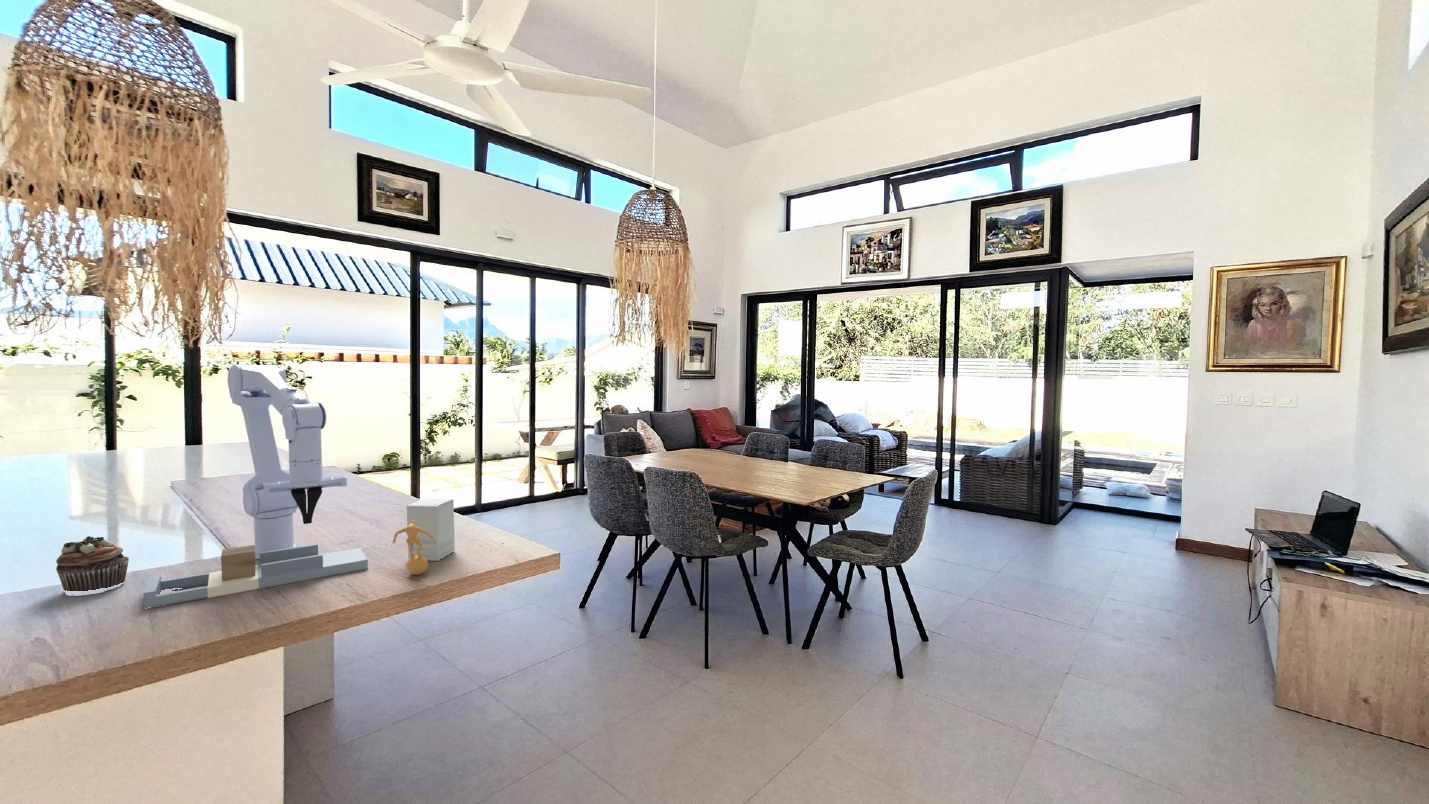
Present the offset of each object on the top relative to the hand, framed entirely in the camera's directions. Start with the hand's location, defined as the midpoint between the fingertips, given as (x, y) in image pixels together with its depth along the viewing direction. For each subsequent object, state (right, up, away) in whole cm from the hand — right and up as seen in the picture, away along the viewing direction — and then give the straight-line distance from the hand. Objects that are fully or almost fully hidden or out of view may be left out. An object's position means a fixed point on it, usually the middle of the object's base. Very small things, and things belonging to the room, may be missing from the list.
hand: (307, 522), depth 125 cm
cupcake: (-33, -10, -12) cm, 36 cm away
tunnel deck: (-4, -10, -7) cm, 13 cm away
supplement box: (+22, -10, +9) cm, 26 cm away
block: (-7, -8, -10) cm, 14 cm away
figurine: (+25, -11, -4) cm, 28 cm away
